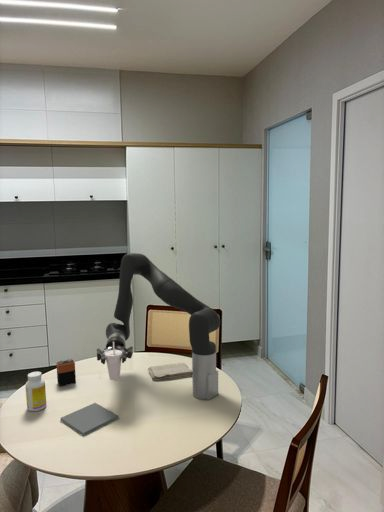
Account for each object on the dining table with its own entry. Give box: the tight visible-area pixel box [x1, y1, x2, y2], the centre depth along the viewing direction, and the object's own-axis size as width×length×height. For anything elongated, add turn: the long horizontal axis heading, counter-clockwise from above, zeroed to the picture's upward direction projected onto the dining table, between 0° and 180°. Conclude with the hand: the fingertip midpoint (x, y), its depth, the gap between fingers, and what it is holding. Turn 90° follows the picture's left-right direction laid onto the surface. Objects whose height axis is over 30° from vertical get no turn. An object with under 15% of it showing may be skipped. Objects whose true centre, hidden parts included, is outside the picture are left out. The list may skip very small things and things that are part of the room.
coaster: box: [60, 402, 119, 437], centre depth 136 cm, size 14×14×1 cm
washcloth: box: [147, 362, 192, 382], centre depth 173 cm, size 12×18×3 cm, turn 108°
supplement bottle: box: [25, 371, 47, 412], centre depth 144 cm, size 7×7×13 cm
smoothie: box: [105, 342, 123, 381], centre depth 144 cm, size 6×6×14 cm
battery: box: [56, 358, 77, 387], centre depth 164 cm, size 4×7×10 cm, turn 118°
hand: (113, 360), depth 142 cm, fingers closed on smoothie, 6 cm apart
